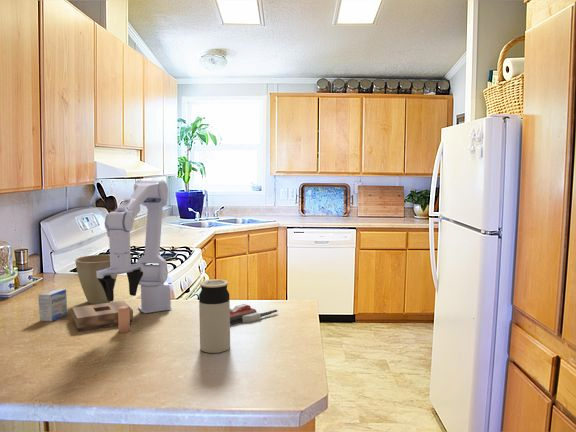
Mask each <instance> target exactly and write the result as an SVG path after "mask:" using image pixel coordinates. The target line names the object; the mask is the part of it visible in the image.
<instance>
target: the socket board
mask: <svg viewBox="0 0 576 432" xmlns="http://www.w3.org/2000/svg"><path fill="white" fill-rule="evenodd" d="M123 306H127V307H129V312H130V324H133V323H134V310H133V309H132V307H130V306H129V305H128V304H127V302H126V301H125V300H120V301H119V300H118V301H109V302H106V303H102V304H90V305H89V304H88V305H81V306H73V307H71V310H72V311H71V313H72V315H71V316H72V321H73V323H74V326H75V328H76V330H77V332H83V331H88V330H89V331H90V330H96V329H101V328H108V327H113V326H119V324H118V308H119V307H123Z"/></svg>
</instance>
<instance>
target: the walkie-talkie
mask: <svg viewBox="0 0 576 432" xmlns="http://www.w3.org/2000/svg"><path fill="white" fill-rule="evenodd" d="M277 312H278V310H277V309H273V310H270V311H266V312H262V313H261V312H260V313H259V312H257V310H256V309H255V308H253V307H251V305H250V304H247V303H243V304H239V305H235V306H234V307H233V308H230V326H232V325H235V324H238V323H251V322H256V321H261V318H263V317H265V316H269V315H272V314H273V313H277Z"/></svg>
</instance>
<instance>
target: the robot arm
mask: <svg viewBox="0 0 576 432" xmlns="http://www.w3.org/2000/svg"><path fill="white" fill-rule="evenodd" d="M168 195H169V189H168V184H167V182H166V181H165V180H164V179H161V180H140V179H137V180H136V181H135V183H134V184H133V193H132V195H131V196H130V197H128V198H127V197H126V198H124V199H123V201H122V202H121V203H120V204H119V205H118V207H117V208H116V209H115V210H114V211H110V212H109V213H107V214H106V216H105V218H104V228H105V230H106V236H107V237H108V241H109V245H108V246H109V255H110V268H106V269H103V270H99V271H96V274H97V278H98V280H99V282H100V283H101V285H102V287H103V289H104V291H105V294H106V297H107V301H109V302H114V299H115V298H114V297H115V296H114V295H115V293H114V289H115V286H114V283H115V284H116V282H115V279H113V278H112V277H111V276H113V275H117V276H118V275H122V274H126V276H127V280H128V292H129V296H133V297H136V295H137V291H138V288H139V286H140V298H141V299H140V303H141V305H140V306H139V305H138V307H137V308H138V310H139V311H141V312H142V314H150V313H156V312H163V311H170V310H172V307H171V305H172V303H171V302H172V301H171V300H172V299H171V288H170V284H169V282H167V279H168V275H169V271H168V262H167V260H166V259H165V258H164V257H163V256H162V255H160V252H161V251H160V250H161V249H160V248H161V235H162V223H163V220H162V219H163V208H164V207H166V206H167V205H168V197H169V196H168ZM141 206H142V207H145V208H146V209H147V213H146V214H147V215H146V227H145V229H146V231H145V241H144V254H143V256H141V257H139V258H138V259H137V261H136V263H131V262H132V261H131V260H132V258H131V255H132V254H131V234H130V232H131V231H132V230H133V227H134V222H135V218H136V217H137V216H138V214H139V213H140V211H141Z"/></svg>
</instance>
